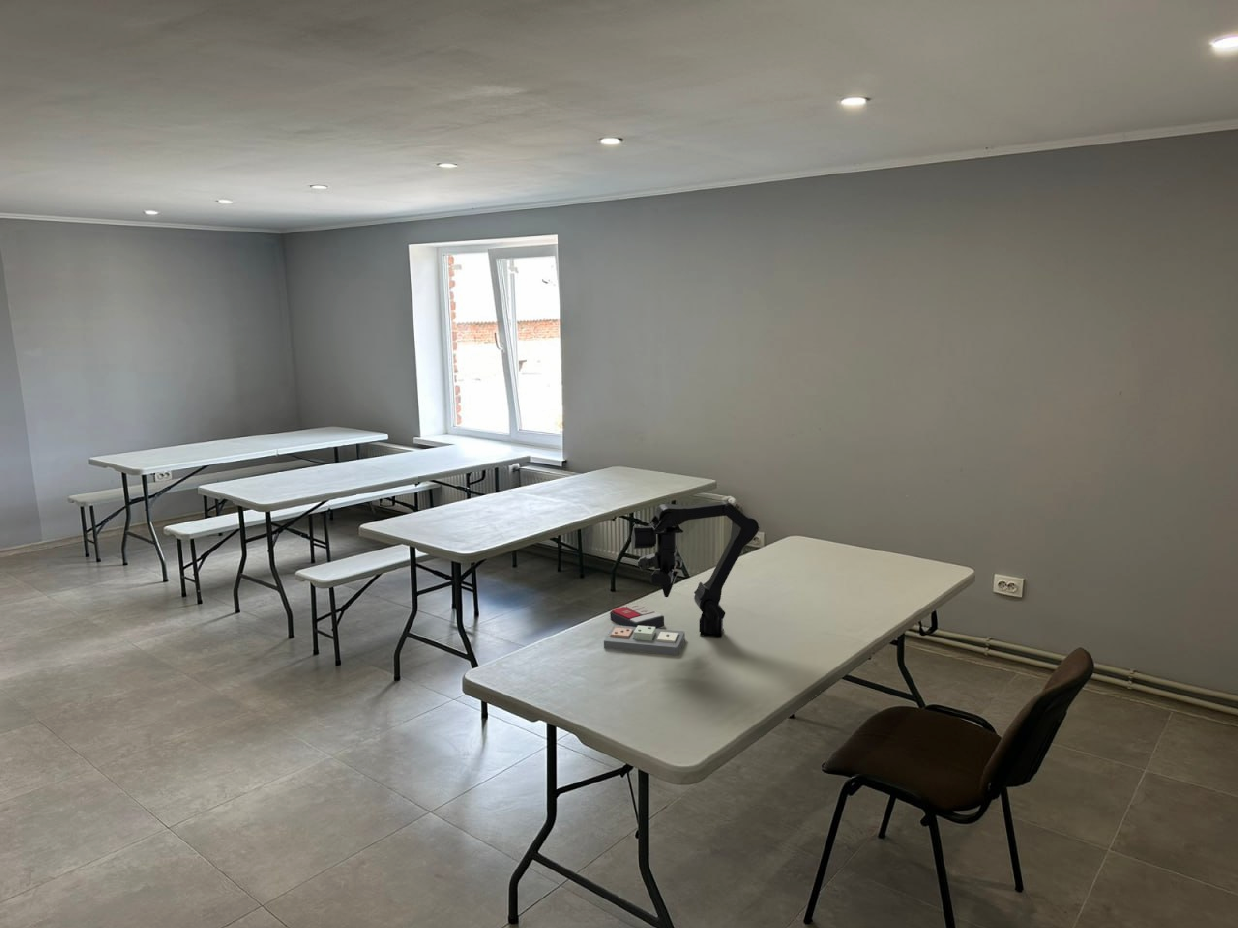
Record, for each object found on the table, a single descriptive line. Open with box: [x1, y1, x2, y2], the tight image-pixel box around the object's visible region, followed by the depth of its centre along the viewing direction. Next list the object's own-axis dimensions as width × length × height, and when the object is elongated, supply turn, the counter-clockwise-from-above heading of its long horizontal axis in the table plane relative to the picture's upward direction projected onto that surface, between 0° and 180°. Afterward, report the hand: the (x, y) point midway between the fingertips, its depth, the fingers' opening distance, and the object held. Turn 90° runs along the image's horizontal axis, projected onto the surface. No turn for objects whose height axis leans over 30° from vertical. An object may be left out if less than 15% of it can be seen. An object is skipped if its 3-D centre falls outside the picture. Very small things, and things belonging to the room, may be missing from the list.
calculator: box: [609, 603, 665, 629], centre depth 256 cm, size 11×4×15 cm
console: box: [603, 624, 685, 656], centre depth 240 cm, size 22×12×2 cm, turn 75°
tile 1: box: [657, 632, 678, 643], centre depth 238 cm, size 5×5×3 cm
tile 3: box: [611, 628, 633, 639], centre depth 241 cm, size 5×5×3 cm
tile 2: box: [634, 625, 655, 641], centre depth 239 cm, size 5×5×3 cm
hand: (666, 596), depth 242 cm, fingers closed
